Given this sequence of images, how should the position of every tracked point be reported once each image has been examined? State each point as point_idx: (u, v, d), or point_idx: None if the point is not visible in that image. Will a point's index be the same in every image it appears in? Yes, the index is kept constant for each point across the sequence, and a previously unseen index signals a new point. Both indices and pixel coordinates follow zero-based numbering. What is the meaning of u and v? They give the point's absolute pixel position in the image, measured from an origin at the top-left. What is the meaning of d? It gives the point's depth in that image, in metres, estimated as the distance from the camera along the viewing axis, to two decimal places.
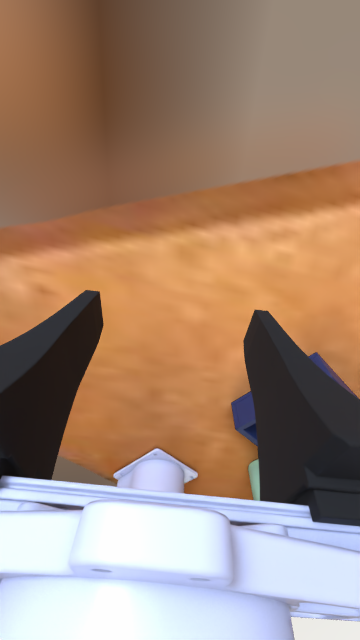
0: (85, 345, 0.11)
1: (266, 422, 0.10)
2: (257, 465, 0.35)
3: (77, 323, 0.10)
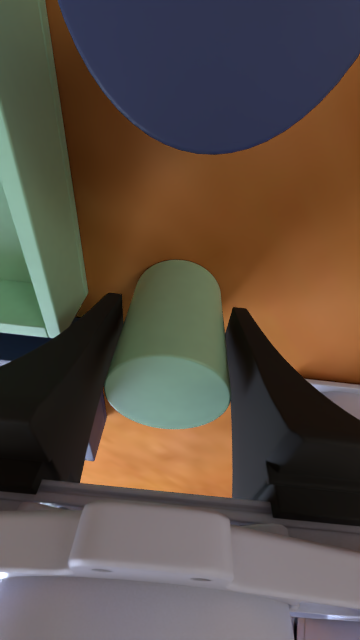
0: (109, 348, 0.11)
1: (239, 419, 0.10)
2: None
3: (104, 326, 0.10)
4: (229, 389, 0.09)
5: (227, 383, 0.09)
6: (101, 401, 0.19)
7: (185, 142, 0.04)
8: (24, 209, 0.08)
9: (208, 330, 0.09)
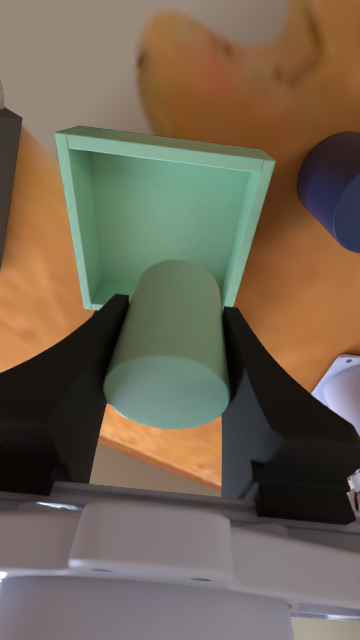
0: None
1: (228, 418, 0.10)
2: None
3: (112, 327, 0.10)
4: (228, 389, 0.09)
5: (226, 383, 0.09)
6: None
7: (357, 250, 0.13)
8: (244, 260, 0.16)
9: (207, 330, 0.09)
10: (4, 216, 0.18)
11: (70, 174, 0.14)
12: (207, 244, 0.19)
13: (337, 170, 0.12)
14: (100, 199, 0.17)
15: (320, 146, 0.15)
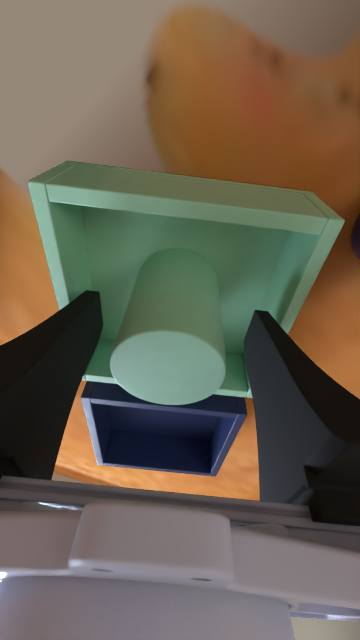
0: (85, 345, 0.11)
1: (266, 422, 0.10)
2: None
3: (77, 323, 0.10)
4: (225, 363, 0.10)
5: (223, 357, 0.09)
6: None
7: None
8: None
9: (205, 311, 0.10)
10: None
11: (53, 234, 0.10)
12: (231, 301, 0.15)
13: None
14: (96, 250, 0.13)
15: None
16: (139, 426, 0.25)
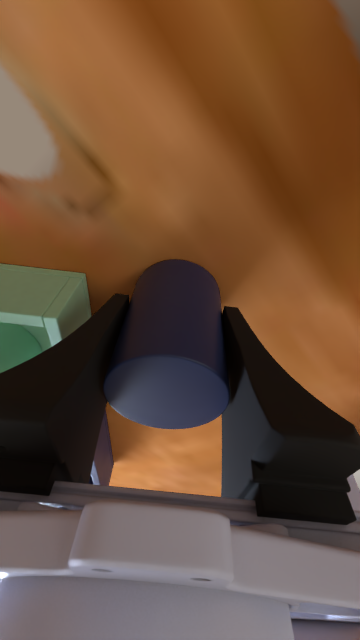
0: None
1: (228, 418, 0.10)
2: None
3: (112, 327, 0.10)
4: None
5: None
6: (110, 456, 0.26)
7: (157, 426, 0.11)
8: None
9: None
10: None
11: None
12: None
13: (118, 339, 0.10)
14: None
15: (143, 275, 0.12)
16: None
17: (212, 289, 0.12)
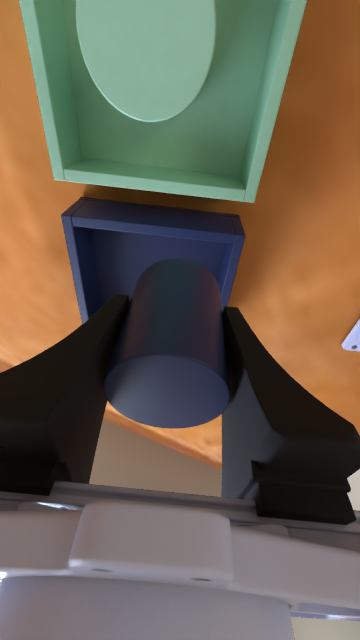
0: None
1: (228, 418, 0.10)
2: None
3: (112, 327, 0.10)
4: (213, 2, 0.08)
5: None
6: None
7: (157, 425, 0.11)
8: (286, 65, 0.11)
9: None
10: None
11: None
12: (226, 81, 0.13)
13: (118, 338, 0.10)
14: None
15: (143, 274, 0.12)
16: None
17: (213, 288, 0.12)
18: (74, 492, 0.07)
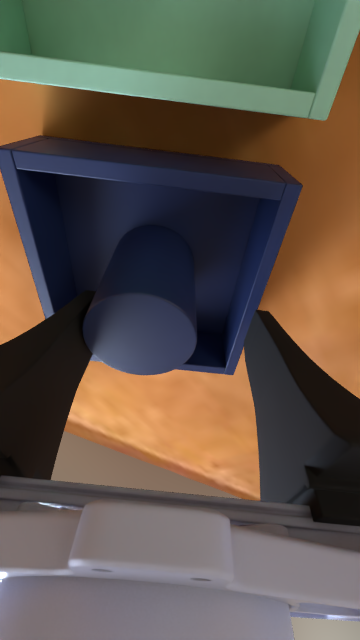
0: (84, 345, 0.11)
1: (267, 422, 0.10)
2: None
3: (76, 323, 0.10)
4: None
5: None
6: None
7: (135, 372, 0.12)
8: None
9: None
10: None
11: None
12: None
13: (96, 292, 0.11)
14: None
15: (120, 241, 0.13)
16: None
17: (184, 250, 0.13)
18: (20, 487, 0.07)
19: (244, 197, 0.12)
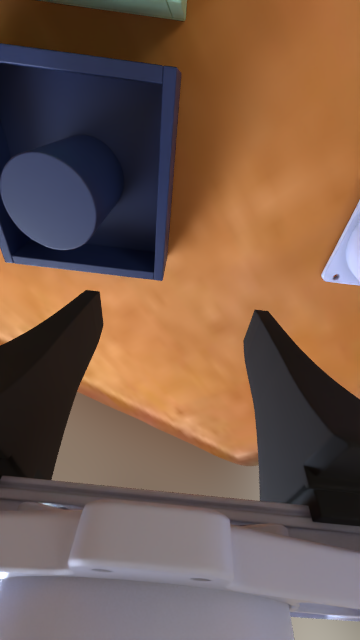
0: (85, 345, 0.11)
1: (266, 422, 0.10)
2: None
3: (77, 323, 0.10)
4: None
5: None
6: (169, 218, 0.18)
7: (54, 247, 0.14)
8: None
9: None
10: None
11: None
12: None
13: None
14: None
15: None
16: None
17: (105, 153, 0.15)
18: (20, 487, 0.07)
19: (154, 103, 0.14)
